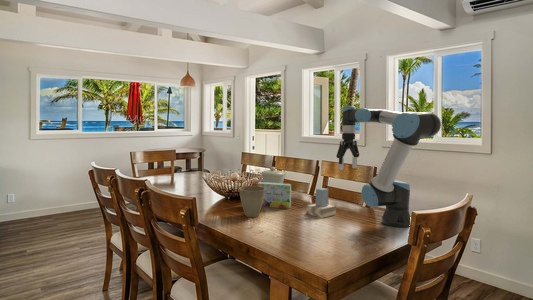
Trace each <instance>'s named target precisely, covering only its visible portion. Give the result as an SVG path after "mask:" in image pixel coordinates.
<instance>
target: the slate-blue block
mask: <svg viewBox="0 0 533 300" xmlns="http://www.w3.org/2000/svg"><path fill="white" fill-rule="evenodd" d="M315 203H316V206H319V207H326V206H328V204H329V188H324V187H319V188H315Z"/></svg>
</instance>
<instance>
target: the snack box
mask: <svg viewBox="0 0 533 300" xmlns="http://www.w3.org/2000/svg"><path fill="white" fill-rule="evenodd" d="M256 186H261V187H264V188H265V194H264V199H263V204H262V207H263V208H264V207H265V208H267V207H268V208H275V209H276V208H278V209H287V210H288V209H291V207H292V183H284V182H283V183H268V182H262V181H258V182H257V185H256Z"/></svg>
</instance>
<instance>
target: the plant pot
mask: <svg viewBox="0 0 533 300" xmlns="http://www.w3.org/2000/svg"><path fill="white" fill-rule="evenodd" d="M238 189H239V196H240V202H241V205H242V210H243V212H244V215H245V216H246V217H247V218H257V217H259V215H260V213H261V209H262V207H263V206H262V204H263V199H264V194H265V188H264V187H261V186H257V185H244V186H240V187H239V188H238Z"/></svg>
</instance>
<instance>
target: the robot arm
mask: <svg viewBox="0 0 533 300" xmlns="http://www.w3.org/2000/svg"><path fill="white" fill-rule="evenodd" d="M341 112H342V113H341V114H342V116H341V117H342V118H341V120H342V121H341V122H342V124H341V126H342V128H341V132H342V133H341V139H342V140H340V141H339V146H338V150H337V152H336V158H337V159H338V170H341V171H343V170H344V168H345V167H344V166H345V164H344V163H345V159H344V157H345V154H346V152H347V150H350V152H351V154H352V160H351V161H352V163H351V168H352V169H358V167H357V166H358V158H359V157H360V151H359V148H358V142H357V140H356V133H355V132H356V123H378V124H384V125H388V126H389V125H390V126H391V127H392V128H391V131H392V137H393V139H394V140H393V141H392V143H391V146H390V147H389V150H388V152H387V154H386V156H385V158H384V160H383V162H382V164H381V167H380V168H379V170H378V172H377V174H376V176H374V177H372V178H371V180H370V182H369V184H368V183H367V184H363V186H362V188H361V197H362V200H363V202H364V204H365V205H366V206H368V207H369V208H370V207H371V208H372V207H373V208H378V207H384V206H385V209H384V212H383V213H382V217H381V223H382V224H384V225H386V226H388V227H393V226H394V227H396V228H408V227H407V226H409V225H410V217H411V213H410V196H411V187H410V183H408V182H406V181H401V180H396V178H397V176H398V175H399V174H400V172H401V169H402V168H403V165H404V164H405V161H406V159H407V157H408V155H409V153H410V151H411V150H412V148H413V147H415V146H417V145H418V144H419V142H420V140H421V139H422V138H423V139H424V138H426V139H427V138H431V137H434V136H436V135H437V134H438V133H439V132H440V131H441V127H442V122H441V119H440V118H439V116H438V115H437V114H435V113H434V112H424V111H423V112H422V111H421V112H420V111H418V112H417V111H404V112H400V111H393V110H388V109H383V108H382V109H377V108H376V109H375V108H374V109H373V108H365V107H364V108H363V107H361V108H356V106H354V105H349V106H348V105H346V106H345V105H344V106H343V107H342V111H341ZM411 218H412V217H411ZM394 227H393V228H394Z"/></svg>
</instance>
